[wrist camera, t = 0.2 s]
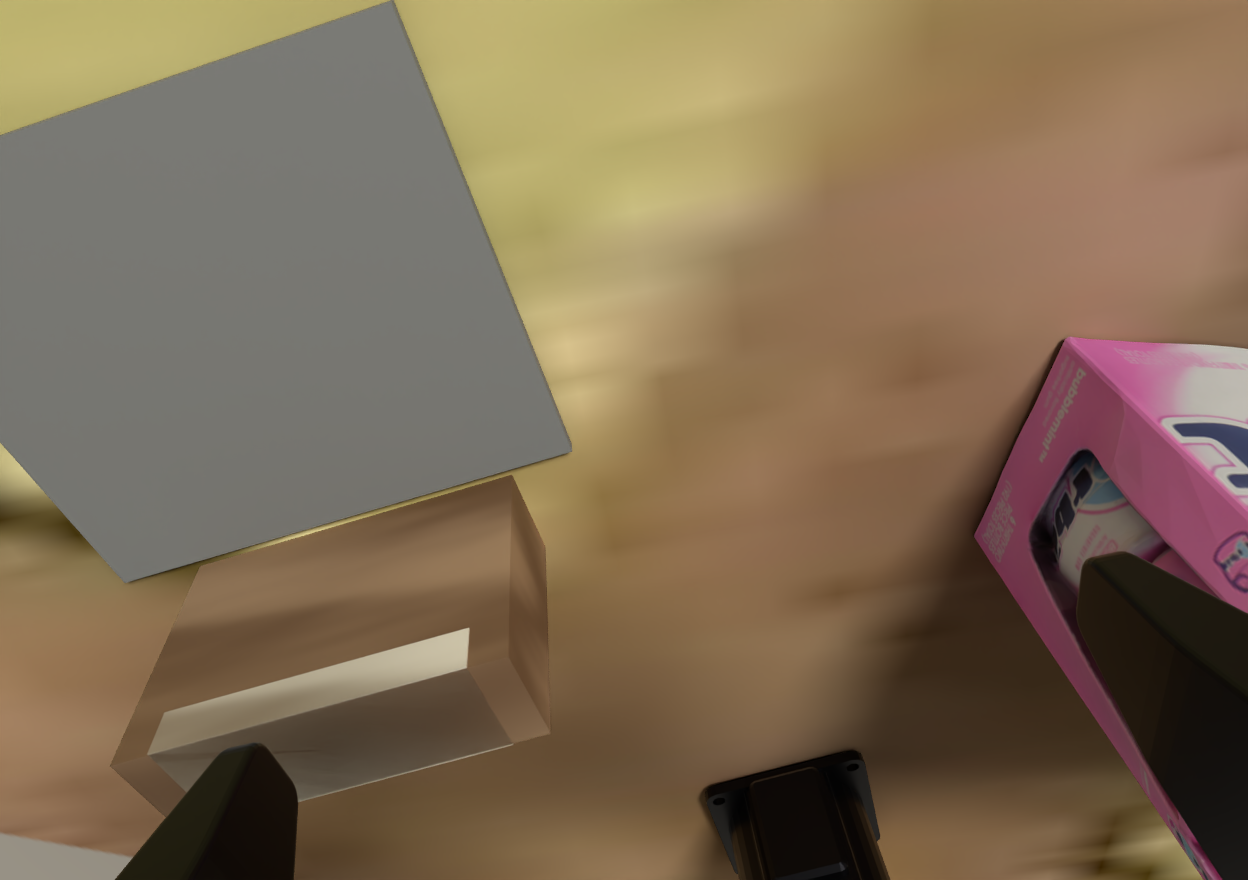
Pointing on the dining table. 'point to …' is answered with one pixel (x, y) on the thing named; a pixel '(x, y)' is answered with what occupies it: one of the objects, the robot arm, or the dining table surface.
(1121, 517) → the gum box
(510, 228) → the dining table surface
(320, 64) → the mat
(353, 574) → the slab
